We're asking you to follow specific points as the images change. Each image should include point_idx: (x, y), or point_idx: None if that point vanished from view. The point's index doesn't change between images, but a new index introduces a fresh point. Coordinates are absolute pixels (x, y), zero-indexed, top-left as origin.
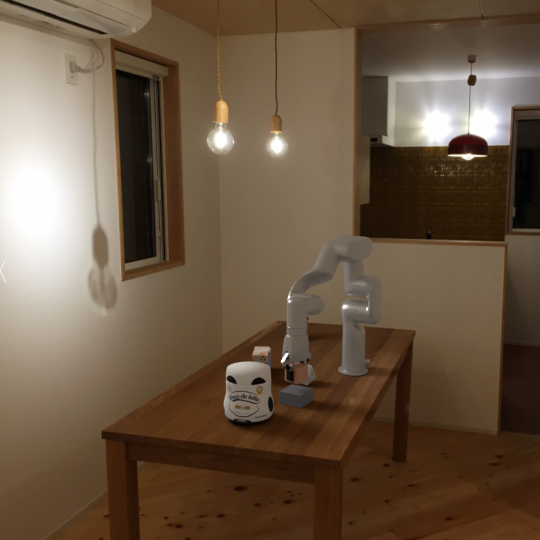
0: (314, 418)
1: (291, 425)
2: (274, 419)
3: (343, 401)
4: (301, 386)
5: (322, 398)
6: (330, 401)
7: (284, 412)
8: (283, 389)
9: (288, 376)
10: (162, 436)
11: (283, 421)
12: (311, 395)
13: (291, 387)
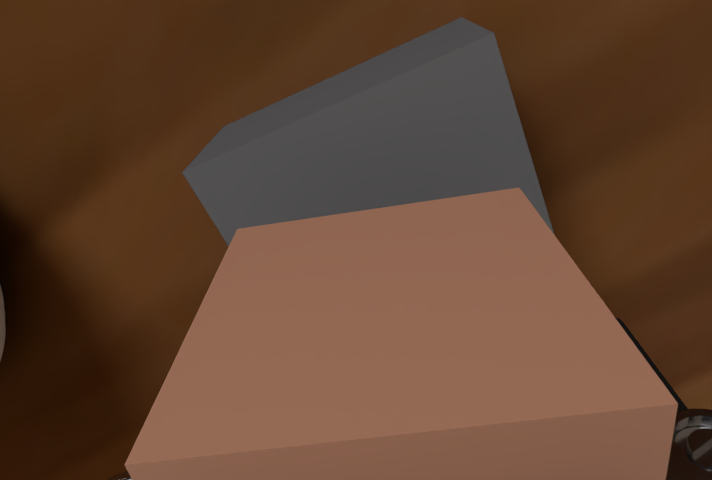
0: None
1: (102, 475)
2: (30, 365)
3: (705, 380)
4: (533, 186)
5: (647, 247)
6: (632, 331)
7: (160, 309)
8: (262, 144)
9: None
10: None
11: (79, 416)
12: None
13: (401, 142)
